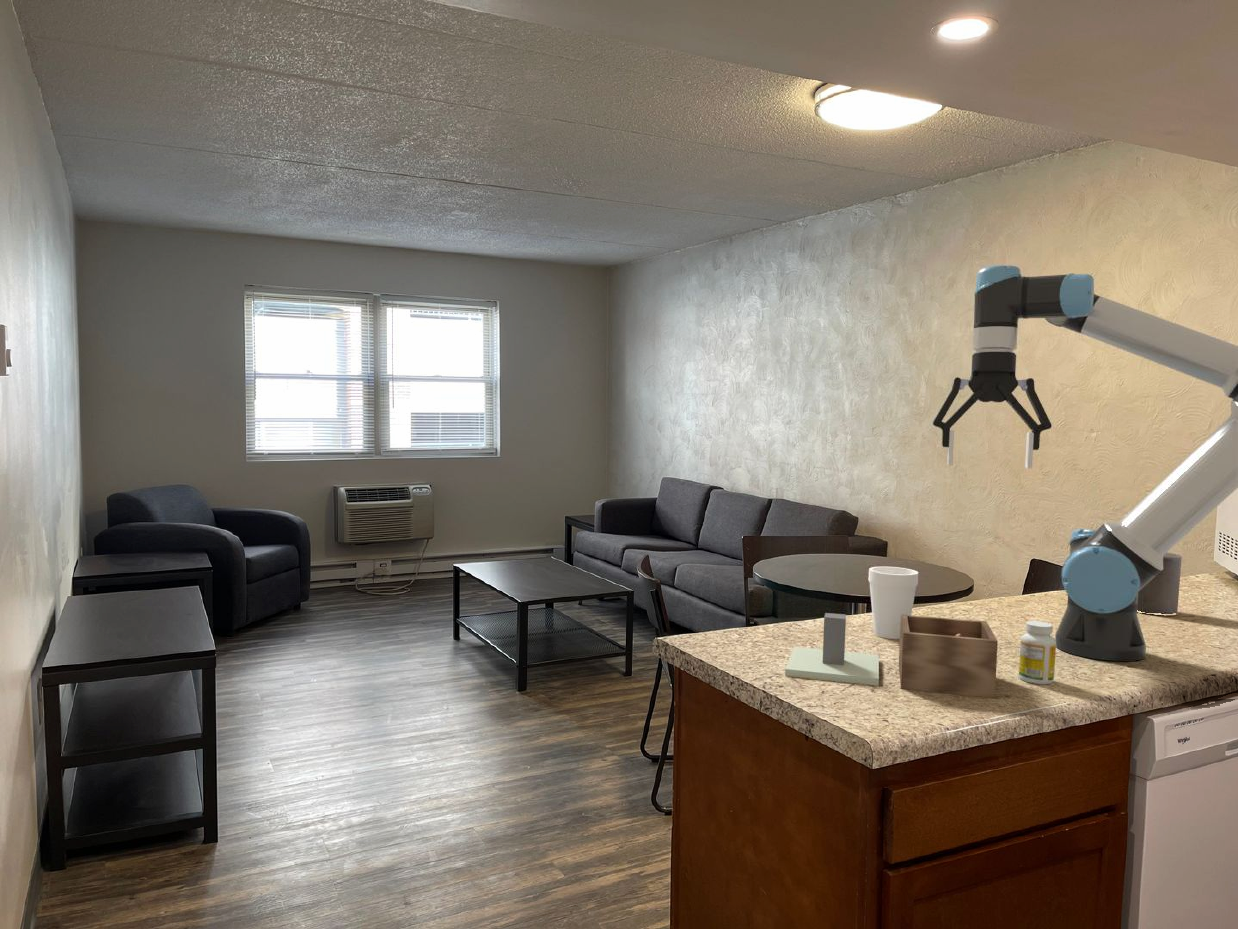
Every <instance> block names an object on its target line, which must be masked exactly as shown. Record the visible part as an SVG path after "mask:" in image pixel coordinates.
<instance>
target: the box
mask: <svg viewBox="0 0 1238 929" xmlns="http://www.w3.org/2000/svg"><path fill="white" fill-rule="evenodd" d="M956 634H961V635H962V636H963V637H958V636H956ZM997 662H998V640H997V638H996V635H995V634H994V632H993V631H992V629H991V627H990V625H989V622H988V621H986V620H985V621H984V620H975V619H960V618H949V617H948V618H947V617H936V616H923V615H912V614H911V615H901V623H900V639H899V651H898V671H899V672H898V673H899V682H900V688H901V689H903V690H913V691H921V692H922V691H924V692H932V693H941V694H942V693H943V694H951V695H960V696H970V697H980V698H988V699H989V698H990V699H995V698H996V682H997V666H998V665H997Z"/></svg>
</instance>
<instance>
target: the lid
mask: <svg viewBox="0 0 1238 929" xmlns="http://www.w3.org/2000/svg"><path fill="white" fill-rule="evenodd" d="M823 616H824V618H823V641H822V643H823V645H822V649H820V648H810V647H799V646H792V650H791V651H790V655H789V657H788V660H787V663H786V666H785V670H784V677H785V676H786V677H792V676H794V677H793V678H802V679H811V680H814V679H815V680H822V681H831V682H832V681H833V682H842V683H848V684H849V683H850V684H859V685H869V686H880V685H879V683H880V682H879V681H880V676H879V674H880V670H879V669H880V667H879V666H880V665H879V661H880V660H879V659H880V658H879V657H880V656H879V655H880V654H876V653H875V654H874V653H863V652H862V653H861V652H854V651H845V650H846V647H845V646H846V628H847V627H846V625H847V624H846V622H847V614H842V613H832V612H831V613H830V612H825V613H824V615H823Z"/></svg>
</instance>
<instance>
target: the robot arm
mask: <svg viewBox="0 0 1238 929" xmlns="http://www.w3.org/2000/svg"><path fill="white" fill-rule="evenodd" d="M1094 279H1095V278H1094V276H1092V275H1091V274H1089V273H1073V272H1071V273H1069V274H1068V273H1067V274H1054V275H1039V276H1023V275H1022V274H1021V268H1020V267H1018V266H1016V265H1000V264H999V265H991V266H986V267H982V268H981V269H980V270H979V271H978V272H977V274H976V284H975V291H974V293H973V294H974V307H973V308H974V313H973V332H972V333H973V336H972V350H973V351H975V352H974V353H973V354H972V355H971V356H972V357H971V374H970V377H969V379H965V378H961V377H958V376H957V377H955V378H954V379H953V380H952V385H951V389H950V392H949V394H948V395H947V397H946V398H945V400H944V402H943V404H942V405H941V407H940V409H939V411H938V412H937V414H936V416H935V418H933V419H934V420H933V421H932V426H934V427H937V428H939V429H940V430H941V432H942V434H941V445H942V446H941V447H943V448H947V459H946V460H947V462H946V464H947V466H953V465H954V444H955V443H954V440H955V430H951V429H952V427H953V426H954V425H955V424H956V423H957V422H958V421H959V420H960V418H962V417H963V416H964V414H966V413H967V412H968V411H969V409H971V407H972V406H973V405H974V404H976V402H977V401H980V402H982V403H989V402H992V403H1002V402H1006V403H1007V404H1008V405H1009V406H1010V407H1011V408H1012V409H1013V410H1014V412H1015V413H1016V414H1017V415H1018V417H1020V419H1021V420H1022V422H1024V423H1025V425H1026V426H1027V427H1028V428H1029V429H1030V430H1031V432H1026V443H1025V447H1026V448H1025V463H1024V468H1025V469H1033V458H1034V457H1033V454H1034V453H1033V452H1034V451H1038V450H1039V448H1040V442H1041V440H1040V439H1041V433H1042V432H1043V431H1047V430H1050V429H1052V423H1051V420H1050V419H1049V417H1048V414H1047V413H1046V412H1047V411H1045V408H1044V406H1043V404H1042V402H1041V399H1040V398H1039V396H1038V394H1037V392H1036V390H1035V380H1034V378H1033V377H1032V378H1031V377H1030V378H1026V379H1017V377H1016V372H1017V371H1016V370H1017V369H1016V368H1017V354H1016V352H1014V351H1016V349H1017V348H1018V327H1019V326H1018V325H1019V324H1018V323H1019V319H1023V320H1024V319H1027V320H1028V319H1045V320H1046V322H1048V324H1051V325H1053V326H1056V327H1060V328H1065V329H1067V330H1070V331H1073V332H1075V333H1077V334H1078V333H1079V334H1081V335H1083V336H1086V337H1089V338H1090V339H1094V340H1096V341H1099V342H1102V343H1104V344H1107V345H1109V346H1112V347H1114V348H1117V349H1120V350H1123V351H1124V352H1128V353H1129V354H1133V355H1136V356H1138V357H1140V358H1144V359H1145V360H1148V361H1151V362H1154V363H1157V364H1158V365H1161V366H1164V367H1166V368H1168V369H1172V370H1173V371H1176V372H1179V373H1181V374H1184V375H1187V376H1189V377H1192V378H1195V379H1196V380H1197V379H1198V380H1200V381H1203V382H1205V383H1208V384H1209V385H1210V384H1211V385H1213V386H1215V387H1218V388H1220V389H1222V391H1223V393H1224V395H1225V397H1226V398H1229V399H1231V401H1230V412H1231V413H1230V415H1229V416H1228V417H1227V419H1225V420H1224V421H1223V422H1222V423H1221V424H1220V425H1219V426H1218V427H1217V428H1215V430H1214V431H1213V432H1212V433H1211V434H1210V435H1208V437H1207V438H1205V440H1204V441H1203V442H1201V443H1200V444H1199V445H1198V446H1197V447H1196V448H1195V449H1194V450H1193V451H1192V452H1190V453H1189V455H1188V456H1187V457H1186V458H1185V459H1183V461H1181V463H1179V464H1178V465H1177V466H1176V467H1175V468H1174V469H1173V470H1172V471H1171V472H1169V473H1168V475H1166V477H1165V478H1163V480H1162V481H1160V482H1159V483H1158V484H1157V485H1156V486H1155V487H1154V488H1153V489H1152V490H1151V491H1150V492H1149V493H1148V494H1147V495H1146V496H1145V497H1144V498H1143V499H1142V500H1140V501H1139V502H1138V503H1137V504H1136V505H1135V506H1134V507H1133V508H1132V509H1131V510H1130V511H1129V512H1128V513H1126V515H1125V516H1124V517H1122V518H1121V519H1120V520H1118V521H1104V523H1102V525H1101V526H1099V528H1097V529H1085V528H1084V529H1083V528H1078V529H1074V530H1073V531H1072V532H1071V535H1070V536H1071V537H1070V540H1069V547H1070V549H1069V556H1068V557H1067V558H1066V559H1065V561H1064V563H1063V565H1062V568H1061V582H1062V585H1063V588H1064V590H1065V592H1066V594H1067V604H1066V605H1067V606H1066V608H1065V612H1064V614H1063V616H1062V618H1061V620H1060V623H1059V624H1058V628H1057V630H1056V632H1055V638H1054V639H1055V641H1056V649H1059V650H1061V651H1063V652H1064V653H1065V652H1066V653H1068V654H1072V655H1075V656H1079V657H1083V658H1089V659H1095V660H1102V661H1103V660H1104V661H1113V662H1135V661H1136V660H1137V661H1140V660H1143V658H1144V659H1145V658H1146V652H1147V651H1146V650H1147V646H1146V641H1145V638H1144V634H1143V631H1142V627H1141V624H1140V621H1139V617H1138V612H1137V603H1138V592H1139V591H1140V590H1141V589H1142V588H1143V587H1144V586H1145V585H1146V584H1147V583H1149V582H1150V581H1151V580H1152V579H1153V578H1154V577H1155V576H1156V575H1157V574H1158V573H1159V572H1161V571H1162V570H1163V556H1164V555H1165V554H1166V553H1169V551H1170V550H1171V549H1172V548H1173V547H1175V545H1177V544H1178V543H1179V542H1180V541H1181V540H1182V539H1183V538H1184V537H1185V536H1187V535H1188V534H1189V533H1190V532H1191V531H1192V530H1194V528H1196V527H1197V526H1198V525H1199V524H1200V523H1201V522H1202V521H1204V519H1205V518H1206V517H1208V516H1209V515H1210V514H1211V513H1212V512H1213V511H1214V510H1215V509H1216V508H1217V507H1219V505H1221V504H1222V503H1223V502H1224V501H1225V500H1226V499H1227V498H1228V497H1229V496H1231V495H1232V494H1233V493H1234V492H1235V491H1236V490H1237V489H1238V345H1237V344H1233V343H1231V342H1228V341H1225V340H1223V339H1220V338H1216V337H1215V336H1213V335H1212V336H1211V335H1209V334H1206V333H1203V332H1200V331H1198V330H1195V329H1192V328H1190V327H1186V326H1184V325H1181V324H1179V323H1176V322H1172V321H1170V320H1167V319H1164V318H1161V317H1159V316H1156V315H1153V314H1152V313H1151V314H1150V313H1147V312H1144V311H1142V310H1139V309H1137V308H1134V307H1131V306H1128V305H1125V304H1123V303H1120V302H1117V301H1115V300H1112V299H1109V298H1107V297H1103V296H1100V295H1099V294H1096V293H1095V284H1094V283H1095V281H1094ZM967 386H968V387H969V389H970V390H971V391H972V394H971V395H970V396H969V397H968V398H967V399H966V400H965V401H964V403H962V404H961V406H960V407H959V408H958V409H957V410H956V411H955V412H954V413H953V414H952V415H951V416H950V417H949V418H948V419H947V420H946V421H943V420H944V418H945V416H946V415H947V413H948V411H949V410H950V408H951V406H952V405H953V403H954V401H955V399H956V397H957V396H958V394H959V391H962V390H964V389H965V387H967ZM1017 387H1020V389H1021V390H1022V391H1024V392H1025V394H1026V397H1027V398H1028V400H1029V402H1030V405H1031V407H1032V410H1034V412H1035V415H1036V416H1037V417H1036V418H1037V419H1038V421H1039V423H1040V424H1038V423H1037V422H1036V421H1035V419H1033V417H1032V416H1031V415H1030V413H1029V412H1028V411H1027V410H1026V409H1025V407H1024V406H1023V405H1022V404H1021V403H1020V401H1018V399H1017V398H1016V397H1015V396H1014V394H1013V392H1014V391H1015V390H1016V389H1017Z"/></svg>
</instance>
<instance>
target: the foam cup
mask: <svg viewBox="0 0 1238 929" xmlns="http://www.w3.org/2000/svg"><path fill="white" fill-rule="evenodd" d="M867 580H868V582H869V592H870V602H871V603H870V604H871V614H872V623H873V624H872V625H873V626H872V627H873V631H874V632H873V634H874V635H875V636H877V637H879V638H882V639H889V640H900V623H901V615H912V613H913V607H914V602H915V596H916V591H917V586H918V585H919V571H917V570H914V569H911V568H907V567H898V566H871V567H870V568H869V569H868V579H867Z"/></svg>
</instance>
